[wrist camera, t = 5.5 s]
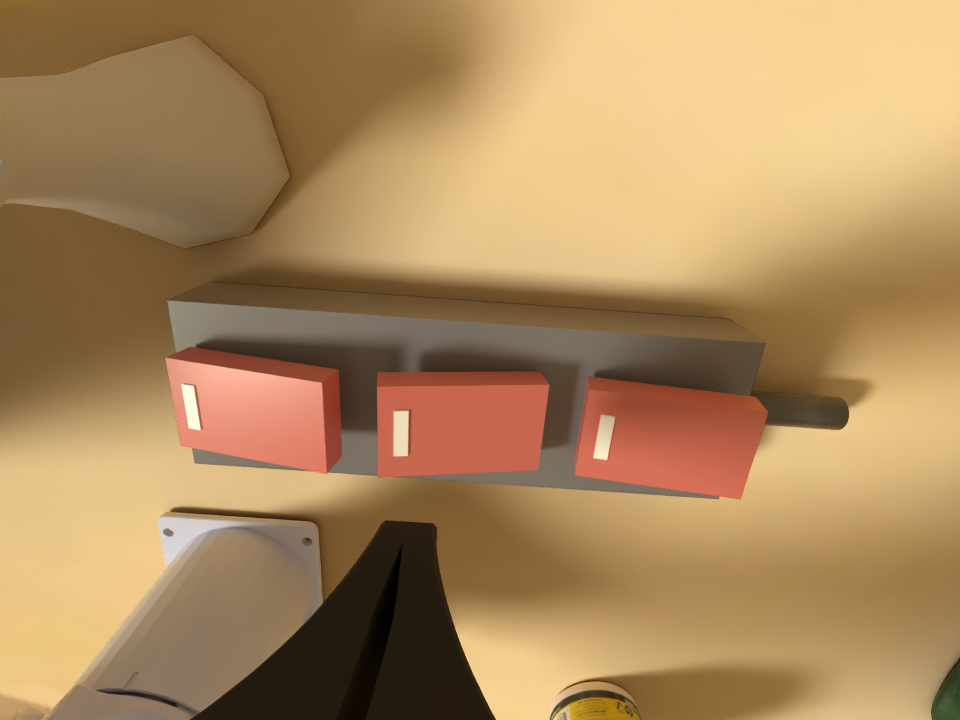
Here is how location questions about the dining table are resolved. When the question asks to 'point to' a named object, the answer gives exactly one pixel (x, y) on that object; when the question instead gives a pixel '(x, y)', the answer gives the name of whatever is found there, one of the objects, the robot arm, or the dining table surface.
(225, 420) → the rocker
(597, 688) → the supplement bottle
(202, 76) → the flask
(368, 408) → the power strip
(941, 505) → the dining table surface
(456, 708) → the robot arm
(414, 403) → the block
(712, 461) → the red rectangular block
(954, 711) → the coffee jar
